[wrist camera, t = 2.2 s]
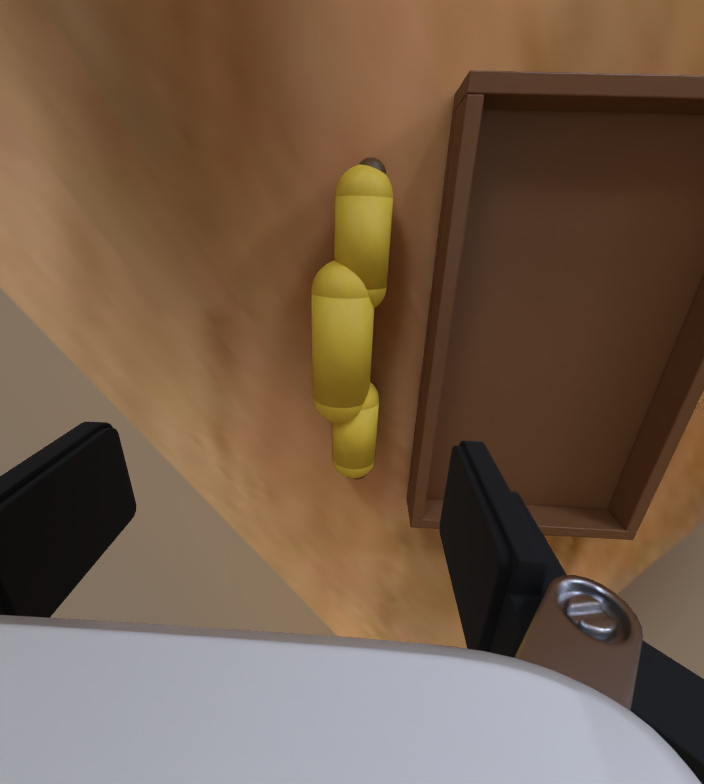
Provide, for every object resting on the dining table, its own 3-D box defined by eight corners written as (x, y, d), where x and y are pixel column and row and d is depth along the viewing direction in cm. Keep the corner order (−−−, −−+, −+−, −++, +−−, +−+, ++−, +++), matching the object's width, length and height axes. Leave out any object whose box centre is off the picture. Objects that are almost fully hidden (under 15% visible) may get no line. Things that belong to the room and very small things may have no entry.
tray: (454, 93, 18) (469, 69, 15) (777, 101, 18) (851, 78, 15) (406, 499, 29) (410, 527, 26) (608, 510, 28) (633, 540, 26)
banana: (304, 158, 19) (316, 145, 16) (382, 164, 20) (407, 153, 17) (310, 467, 27) (318, 499, 24) (365, 460, 28) (380, 490, 25)
